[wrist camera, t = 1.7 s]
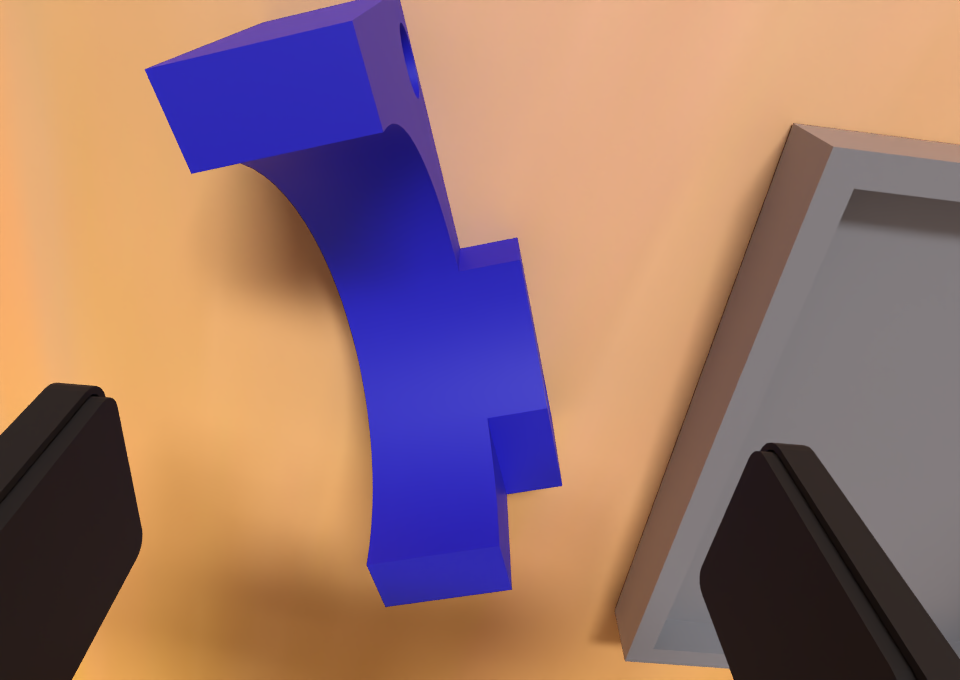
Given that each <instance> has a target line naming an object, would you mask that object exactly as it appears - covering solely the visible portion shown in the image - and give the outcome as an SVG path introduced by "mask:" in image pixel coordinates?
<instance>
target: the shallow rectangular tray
mask: <svg viewBox="0 0 960 680" xmlns="http://www.w3.org/2000/svg"><path fill="white" fill-rule="evenodd" d="M771 442H772V443H784V444H796V445H805V446H808V447H810V448H811V449H812V450H813V451H814V452H815V454H816V455H817V457H818V458H819V460H820V461H821V462H822V464H823V465H824V467H825V468H826V469H827V471H828V472H829V474H830V475H831V477H832V478H833V479H834V481H835V482H836V484H837V485H838V487H839V488H840V489H841V491H842V492H843V494H844V495H845V496H846V498H847V499H848V501H849V502H850V504H851V505H852V506H853V508H854V509H855V511H856V512H857V514H858V515H859V516H860V518H861V519H862V521H863V522H864V523H865V525H866V526H867V528H868V529H869V531H870V532H871V533H872V535H873V536H874V538H875V539H876V541H877V542H878V543H879V545H880V546H881V548H882V549H883V550H884V552H885V553H886V555H887V556H888V558H889V559H890V560H891V562H892V563H893V565H894V566H895V568H896V569H897V570H898V572H899V573H900V575H901V576H902V577H903V579H904V580H905V582H906V583H907V585H908V586H909V587H910V589H911V590H912V592H913V593H914V595H915V596H916V597H917V599H918V600H919V602H920V603H921V604H922V606H923V607H924V609H925V610H926V612H927V613H928V614H929V616H930V617H931V619H932V620H933V622H934V623H935V624H936V626H937V627H938V629H939V630H940V631H941V633H942V634H943V636H944V637H945V639H946V640H947V641H948V643H949V644H950V646H951V647H952V649H953V650H954V651H955V653H956V654H957V656H958V657H959V658H960V145H957V144H949V143H941V142H934V141H926V140H918V139H910V138H903V137H895V136H887V135H880V134H872V133H864V132H857V131H849V130H841V129H834V128H826V127H818V126H811V125H803V124H795V123H793V125H792V128H791V131H790V133H789V136H788V139H787V142H786V144H785V147H784V150H783V153H782V155H781V158H780V161H779V163H778V166H777V169H776V172H775V174H774V177H773V180H772V183H771V185H770V188H769V191H768V193H767V196H766V199H765V202H764V204H763V207H762V210H761V213H760V215H759V218H758V221H757V224H756V226H755V229H754V232H753V234H752V237H751V240H750V243H749V245H748V248H747V251H746V254H745V256H744V259H743V262H742V264H741V267H740V270H739V273H738V275H737V278H736V281H735V284H734V286H733V289H732V292H731V295H730V297H729V300H728V303H727V305H726V308H725V311H724V314H723V316H722V319H721V322H720V325H719V327H718V330H717V333H716V335H715V338H714V341H713V344H712V346H711V349H710V352H709V355H708V357H707V360H706V363H705V365H704V368H703V371H702V374H701V376H700V379H699V382H698V385H697V387H696V390H695V393H694V396H693V398H692V401H691V404H690V406H689V409H688V412H687V415H686V417H685V420H684V423H683V426H682V428H681V431H680V434H679V436H678V439H677V442H676V445H675V447H674V450H673V453H672V456H671V458H670V461H669V464H668V467H667V469H666V472H665V475H664V477H663V480H662V483H661V486H660V488H659V491H658V494H657V497H656V499H655V502H654V505H653V507H652V510H651V513H650V516H649V518H648V521H647V524H646V527H645V529H644V532H643V535H642V537H641V540H640V543H639V546H638V548H637V551H636V554H635V557H634V559H633V562H632V565H631V568H630V570H629V573H628V576H627V578H626V581H625V584H624V587H623V589H622V592H621V595H620V598H619V600H618V603H617V606H616V608H615V615H616V620H617V625H618V630H619V635H620V640H621V644H622V649H623V654H624V659H625V661H630V662H644V663H658V664H673V665H687V666H701V667H715V668H729V665H728V663H727V660H726V657H725V655H724V652H723V649H722V647H721V644H720V641H719V639H718V636H717V633H716V631H715V628H714V625H713V623H712V620H711V617H710V614H709V612H708V609H707V606H706V604H705V601H704V598H703V596H702V593H701V589H700V579H699V577H700V570H701V567H702V565H703V562H704V560H705V558H706V555H707V553H708V551H709V548H710V546H711V544H712V542H713V539H714V537H715V535H716V532H717V530H718V528H719V526H720V523H721V521H722V519H723V516H724V514H725V512H726V509H727V507H728V505H729V503H730V500H731V498H732V496H733V493H734V491H735V489H736V486H737V484H738V482H739V480H740V477H741V475H742V473H743V470H744V468H745V466H746V464H747V461H748V459H749V457H750V455H751V454H752V453H753V452H754V451H760V450H761V448H762V447H763V446H764V445H765V444H766V443H771ZM729 669H730V668H729Z"/></svg>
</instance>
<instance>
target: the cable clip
mask: <svg viewBox="0 0 960 680" xmlns="http://www.w3.org/2000/svg"><path fill="white" fill-rule="evenodd" d="M145 71H146V73H147V76H148V78H149V80H150V82H151V85H152V87H153V89H154V91H155V93H156V96H157V98H158V100H159V102H160V105H161V107H162V109H163V111H164V114H165V116H166V118H167V120H168V123H169V125H170V127H171V129H172V131H173V134H174V136H175V138H176V140H177V143H178V145H179V147H180V149H181V152H182V154H183V156H184V158H185V160H186V163H187V165H188V167H189V169H190V172H191V174H192V173H197V172H202V171H206V170H211V169H215V168H220V167H225V166H229V165H234V164H239V163H241V164H243V165H246V166H248V167H250V168H253V169H254V170H256V171H257V172H259V173H261V174H262V175H264V176H265V177H266V178H267V179H269V180H270V181H271V182H272V183H273V184H274V185H276V186H277V187H278V189H279V190H280V191H281V192H282V193H283V194H284V195H285V196H286V197H287V198H288V200H289V201H290V202H291V203H292V205H293V206H294V207H295V208H296V210H297V211H298V213H299V214H300V216H301V217H302V219H303V220H304V222H305V223H306V225H307V227H308V228H309V230H310V232H311V233H312V235H313V237H314V239H315V240H316V242H317V244H318V246H319V248H320V250H321V252H322V254H323V256H324V258H325V261H326V263H327V265H328V267H329V269H330V272H331V274H332V277H333V279H334V282H335V284H336V287H337V289H338V292H339V295H340V298H341V300H342V303H343V306H344V309H345V313H346V316H347V319H348V322H349V326H350V329H351V333H352V336H353V340H354V344H355V348H356V352H357V356H358V361H359V365H360V370H361V375H362V380H363V386H364V391H365V398H366V404H367V411H368V419H369V428H370V438H371V450H372V470H373V507H372V525H371V536H370V546H369V553H368V559H367V567H368V569H369V571H370V574H371V576H372V578H373V580H374V583H375V585H376V587H377V589H378V591H379V594H380V596H381V598H382V600H383V603H384V605H385V607H389V606H396V605H403V604H411V603H418V602H425V601H433V600H440V599H447V598H455V597H462V596H469V595H476V594H484V593H491V592H498V591H506V590H512V584H511V565H510V546H509V527H508V509H507V494H512V493H518V492H525V491H532V490H538V489H545V488H551V487H558V486H562V481H561V474H560V468H559V462H558V455H557V449H556V442H555V436H554V429H553V423H552V417H551V412H550V406H549V401H548V396H547V391H546V385H545V380H544V375H543V370H542V364H541V359H540V354H539V349H538V343H537V338H536V333H535V327H534V322H533V317H532V312H531V306H530V301H529V296H528V291H527V285H526V280H525V275H524V270H523V264H522V259H521V254H520V249H519V243H518V238H513V239H507V240H502V241H497V242H492V243H487V244H482V245H477V246H471V247H466V248H461V249H460V246H459V242H458V238H457V234H456V230H455V226H454V221H453V217H452V213H451V209H450V205H449V201H448V197H447V193H446V188H445V184H444V180H443V176H442V172H441V168H440V164H439V159H438V155H437V151H436V147H435V143H434V139H433V135H432V131H431V126H430V122H429V118H428V114H427V110H426V106H425V102H424V97H423V93H422V89H421V85H420V81H419V77H418V73H417V69H416V64H415V60H414V56H413V52H412V48H411V44H410V40H409V35H408V31H407V27H406V23H405V19H404V15H403V11H402V6H401V2H400V0H355V1H351V2H347V3H343V4H339V5H334V6H330V7H326V8H322V9H318V10H313V11H309V12H305V13H301V14H297V15H292V16H288V17H284V18H280V19H276V20H272V21H267V22H263V23H260V24H258V25H255V26H253V27H250V28H248V29H245V30H243V31H240V32H238V33H235V34H233V35H230V36H228V37H225V38H223V39H220V40H218V41H215V42H213V43H210V44H207V45H205V46H202V47H200V48H197V49H195V50H192V51H190V52H187V53H185V54H182V55H180V56H177V57H175V58H172V59H170V60H167V61H165V62H162V63H159V64H157V65H154V66H152V67H149V68H147V69H145Z"/></svg>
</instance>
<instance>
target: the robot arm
mask: <svg viewBox="0 0 960 680" xmlns="http://www.w3.org/2000/svg"><path fill="white" fill-rule="evenodd" d="M141 544H142V527H141V522H140V517H139V512H138V507H137V502H136V497H135V492H134V487H133V482H132V477H131V472H130V467H129V462H128V457H127V452H126V447H125V442H124V437H123V432H122V427H121V422H120V417H119V412H118V407H117V404H116V401H115V400H114V399H113V398H108V397H105V394H104V392H103V390H102V389H101V388H100V387H97V386H89V385H77V384H65V383H53V384H50V385H49V386H48V387H46V388H45V389H44V390H43V391H42V392H41V393H40V394H39V395H38V396H37V397H36V398H35V400H34V401H33V402H32V403H31V404H30V405H29V406H28V407H27V408H26V409H25V410H24V411H23V412H22V413H21V414H20V415H19V416H18V417H17V418H16V419H15V421H14V422H13V423H12V424H11V425H10V426H9V427H8V428H7V429H6V430H5V431H4V432H3V433H2V434H1V435H0V680H72V678H73V676H74V675H75V673H76V671H77V669H78V667H79V665H80V663H81V662H82V660H83V658H84V656H85V654H86V652H87V650H88V648H89V647H90V645H91V643H92V641H93V639H94V637H95V635H96V634H97V632H98V630H99V628H100V626H101V624H102V622H103V620H104V619H105V617H106V615H107V613H108V611H109V609H110V607H111V605H112V604H113V602H114V600H115V598H116V596H117V594H118V592H119V591H120V589H121V587H122V585H123V583H124V581H125V579H126V577H127V576H128V574H129V572H130V570H131V568H132V566H133V564H134V562H135V561H136V559H137V557H138V554H139V551H140V548H141ZM699 579H700V589H701V593H702V596H703V598H704V601H705V604H706V606H707V609H708V612H709V614H710V617H711V620H712V623H713V625H714V628H715V631H716V633H717V636H718V639H719V641H720V644H721V647H722V649H723V652H724V655H725V657H726V660H727V663H728V665H729V668H730V671H731V673H732V676H733V679H734V680H960V658H959V657H958V656H957V654H956V653H955V651H954V650H953V649H952V647H951V646H950V644H949V643H948V641H947V640H946V639H945V637H944V636H943V634H942V633H941V631H940V630H939V629H938V627H937V626H936V624H935V623H934V622H933V620H932V619H931V617H930V616H929V614H928V613H927V612H926V610H925V609H924V607H923V606H922V604H921V603H920V602H919V600H918V599H917V597H916V596H915V595H914V593H913V592H912V590H911V589H910V587H909V586H908V585H907V583H906V582H905V580H904V579H903V577H902V576H901V575H900V573H899V572H898V570H897V569H896V568H895V566H894V565H893V563H892V562H891V560H890V559H889V558H888V556H887V555H886V553H885V552H884V550H883V549H882V548H881V546H880V545H879V543H878V542H877V541H876V539H875V538H874V536H873V535H872V533H871V532H870V531H869V529H868V528H867V526H866V525H865V523H864V522H863V521H862V519H861V518H860V516H859V515H858V514H857V512H856V511H855V509H854V508H853V506H852V505H851V504H850V502H849V501H848V499H847V498H846V496H845V495H844V494H843V492H842V491H841V489H840V488H839V487H838V485H837V484H836V482H835V481H834V479H833V478H832V477H831V475H830V474H829V472H828V471H827V469H826V468H825V467H824V465H823V464H822V462H821V461H820V460H819V458H818V457H817V455H816V454H815V452H814V451H813V450H812V449H811V448H810V447H808V446H805V445H796V444H784V443H772V442H771V443H766V444H765V445H764V446H763V447H762V448H761V450H760V451H754V452H753V453H752V454H751V455H750V457H749V459H748V461H747V464H746V466H745V468H744V470H743V473H742V475H741V477H740V480H739V482H738V484H737V486H736V489H735V491H734V493H733V496H732V498H731V500H730V503H729V505H728V507H727V509H726V512H725V514H724V516H723V519H722V521H721V523H720V526H719V528H718V530H717V532H716V535H715V537H714V539H713V542H712V544H711V546H710V548H709V551H708V553H707V555H706V558H705V560H704V562H703V565H702V567H701V570H700V577H699Z"/></svg>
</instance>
